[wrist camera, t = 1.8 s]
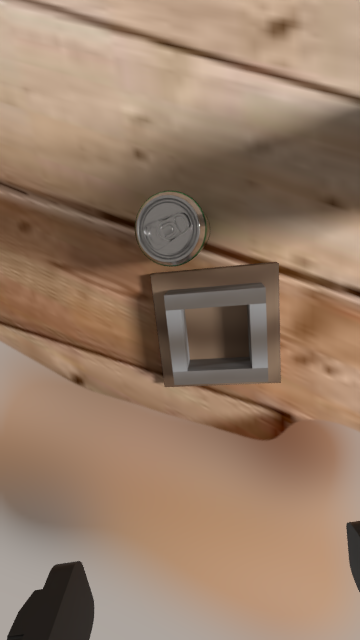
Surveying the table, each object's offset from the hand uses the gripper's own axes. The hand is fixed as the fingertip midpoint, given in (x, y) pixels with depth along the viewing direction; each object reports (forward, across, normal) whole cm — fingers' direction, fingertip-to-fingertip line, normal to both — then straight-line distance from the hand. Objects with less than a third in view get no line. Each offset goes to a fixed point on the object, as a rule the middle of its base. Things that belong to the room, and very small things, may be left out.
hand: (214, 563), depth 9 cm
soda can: (+26, -2, -11) cm, 28 cm away
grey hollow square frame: (+26, -3, -1) cm, 26 cm away
